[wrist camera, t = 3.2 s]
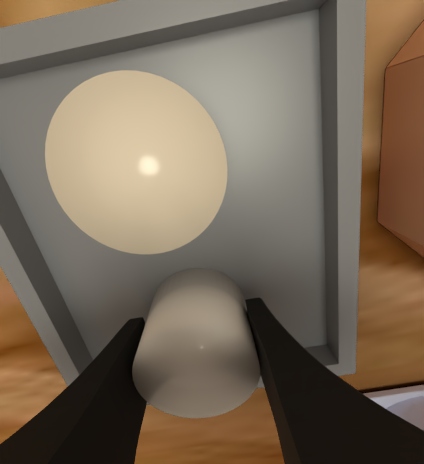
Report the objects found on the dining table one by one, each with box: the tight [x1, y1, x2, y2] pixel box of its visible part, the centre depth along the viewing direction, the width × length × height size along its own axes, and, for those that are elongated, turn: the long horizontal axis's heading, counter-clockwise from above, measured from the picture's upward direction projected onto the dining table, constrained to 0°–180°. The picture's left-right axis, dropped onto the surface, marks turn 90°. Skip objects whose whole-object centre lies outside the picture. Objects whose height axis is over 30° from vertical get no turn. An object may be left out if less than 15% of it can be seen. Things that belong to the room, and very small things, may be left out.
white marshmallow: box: [132, 268, 260, 418], centre depth 11 cm, size 4×4×4 cm
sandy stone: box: [45, 70, 228, 254], centre depth 8 cm, size 4×4×4 cm
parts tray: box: [0, 0, 366, 405], centre depth 11 cm, size 16×14×2 cm
